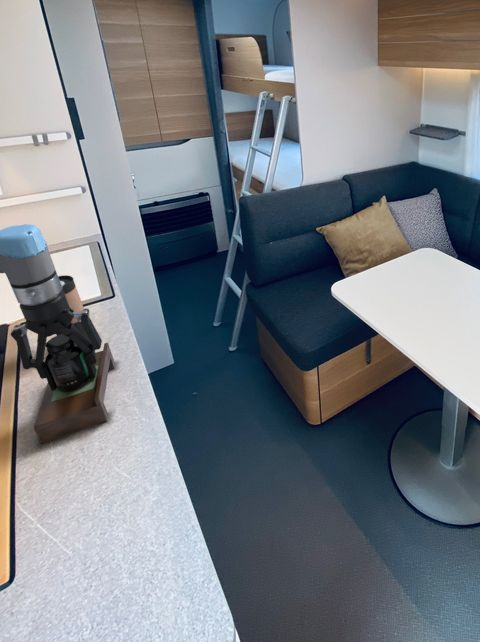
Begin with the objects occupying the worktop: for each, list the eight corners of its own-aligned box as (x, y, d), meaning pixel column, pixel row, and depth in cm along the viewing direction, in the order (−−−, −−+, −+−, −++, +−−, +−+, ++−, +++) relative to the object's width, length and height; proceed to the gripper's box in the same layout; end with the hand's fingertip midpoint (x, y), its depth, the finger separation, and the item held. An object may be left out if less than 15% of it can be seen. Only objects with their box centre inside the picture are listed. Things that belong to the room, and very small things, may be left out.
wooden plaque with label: (41, 443, 86) (29, 419, 83) (60, 379, 103) (51, 357, 100) (107, 421, 91) (98, 397, 88) (115, 363, 107) (107, 342, 105)
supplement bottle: (99, 373, 97) (84, 332, 92) (73, 396, 91) (55, 353, 86) (77, 368, 98) (61, 328, 94) (49, 390, 92) (31, 348, 88)
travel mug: (55, 349, 113) (30, 287, 105) (82, 332, 120) (60, 272, 112) (74, 355, 110) (49, 293, 103) (100, 338, 117) (79, 277, 109)
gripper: (-27, 320, 78) (16, 408, 87) (94, 292, 86) (122, 376, 95) (-13, 300, 85) (26, 384, 94) (98, 276, 93) (124, 355, 101)
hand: (74, 380), depth 94 cm, fingers closed on supplement bottle, 7 cm apart
